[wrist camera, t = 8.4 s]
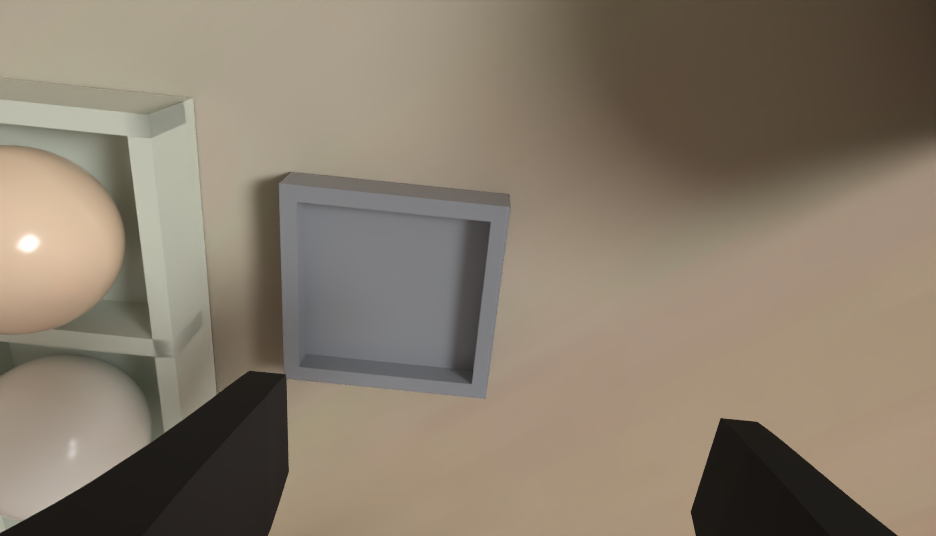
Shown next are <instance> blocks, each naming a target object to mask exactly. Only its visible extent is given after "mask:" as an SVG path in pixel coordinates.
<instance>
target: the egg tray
mask: <svg viewBox="0 0 936 536" xmlns="http://www.w3.org/2000/svg"><path fill="white" fill-rule="evenodd" d="M0 145H19V146H26V147H32V148H38V149H42V150H45V151H49V152H52V153H54V154H57V155H59V156H62V157H64V158H67V159H68V160H70V161H72V162H74V163H76V164H77V165H79V166H80V167H82V168H83V169H85V170H86V171H87V172H89V173H90V174H91V175H92V176H93V177H95V178H96V179H97V180H98V181H99V182H100V183H101V184H102V185H103V186H104V188H105V189H106V190H107V191H108V193H109V194H110V196H111V197H112V199H113V200H114V202H115V204H116V206H117V208H118V210H119V213H120V215H121V218H122V221H123V225H124V230H125V254H124V259H123V263H122V266H121V269H120V272H119V274H118V276H117V279H116V280H115V282H114V283H113V285H112V287H111V288H110V290H109V291H108V293H107V294H106V295H105V296H104V297H103V298H102V299H101V300H100V301H99V302H98V303H97V304H96V305H95V306H94V307H93V308H91V309H90V310H89V311H87V312H86V313H85V314H83V315H82V316H80V317H78V318H76V319H75V320H73V321H71V322H69V323H66V324H64V325H62V326H59V327H56V328H53V329H50V330H46V331H42V332H37V333H31V334H19V335H3V334H0V376H2V375H3V374H4V373H6V372H7V371H9V370H11V369H13V368H15V367H17V366H19V365H21V364H23V363H26V362H29V361H32V360H35V359H38V358H42V357H47V356H53V355H63V354H73V355H84V356H90V357H94V358H98V359H101V360H103V361H106V362H108V363H110V364H113V365H115V366H116V367H118V368H120V369H121V370H123V371H124V372H125V373H127V374H128V375H129V376H130V377H131V378H132V379H133V380H134V381H135V382H136V384H137V385H138V386H139V387H140V389H141V390H142V392H143V393H144V395H145V397H146V399H147V402H148V405H149V408H150V412H151V416H152V437H151V442H152V441H154V440H155V439H157V438H158V437H159V436H161V435H162V434H164V433H165V432H166V431H168V430H169V429H171V428H172V427H173V426H175V425H176V424H178V423H179V422H180V421H182V420H183V419H185V418H186V417H187V416H189V415H190V414H191V413H193V412H194V411H195V410H197V409H198V408H200V407H201V406H202V405H204V404H205V403H206V402H208V401H209V400H210V399H212V398H213V397H214V396H216V395H217V393H216V380H215V368H214V355H213V343H212V330H211V317H210V305H209V292H208V280H207V267H206V255H205V242H204V230H203V217H202V204H201V192H200V179H199V167H198V154H197V142H196V129H195V117H194V104H193V98H188V97H178V96H168V95H159V94H149V93H140V92H130V91H120V90H111V89H101V88H91V87H82V86H72V85H63V84H53V83H43V82H34V81H24V80H14V79H5V78H0ZM18 523H20V521H15V520H12V519H9V518H6V517H4V516H1V515H0V533H1V532H3V531H4V530H6V529H8V528H10V527H12V526H14V525H16V524H18Z"/></svg>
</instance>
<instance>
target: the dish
mask: <svg viewBox="0 0 936 536" xmlns="http://www.w3.org/2000/svg"><path fill="white" fill-rule="evenodd" d="M279 207H280V244H281V282H282V319H283V356H284V374H286V379H295V380H305V381H315V382H325V383H335V384H345V385H355V386H365V387H375V388H384V389H394V390H404V391H414V392H424V393H434V394H444V395H454V396H464V397H474V398H484V399H486V392H487V384H488V376H489V369H490V361H491V353H492V346H493V338H494V330H495V323H496V315H497V307H498V300H499V292H500V284H501V277H502V269H503V261H504V253H505V246H506V238H507V230H508V223H509V215H510V195H509V194H499V193H490V192H480V191H470V190H461V189H451V188H441V187H431V186H422V185H412V184H402V183H393V182H383V181H373V180H364V179H354V178H344V177H334V176H325V175H315V174H305V173H296V172H291V173H290V174H288V175H287V176H286V177H285V178H284V179H283V180H282V181H281V182H280V183H279Z"/></svg>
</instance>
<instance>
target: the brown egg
mask: <svg viewBox="0 0 936 536" xmlns="http://www.w3.org/2000/svg"><path fill="white" fill-rule="evenodd" d="M124 254H125V230H124V225H123V221H122V218H121V215H120V213H119V210H118V208H117V206H116V204H115V202H114V200H113V199H112V197H111V196H110V194H109V193H108V191H107V190H106V189H105V188H104V186H103V185H102V184H101V183H100V182H99V181H98V180H97V179H96V178H95V177H93V176H92V175H91V174H90V173H89V172H87V171H86V170H85V169H83V168H82V167H80V166H79V165H77V164H76V163H74V162H72V161H70V160H68V159H67V158H64V157H62V156H59V155H57V154H54V153H52V152H49V151H45V150H42V149H38V148H32V147H26V146H19V145H0V334H3V335H19V334H31V333H37V332H42V331H46V330H50V329H53V328H56V327H59V326H62V325H64V324H66V323H69V322H71V321H73V320H75V319H76V318H78V317H80V316H82V315H83V314H85V313H86V312H87V311H89V310H90V309H91V308H93V307H94V306H95V305H96V304H97V303H98V302H99V301H100V300H101V299H102V298H103V297H104V296H105V295H106V294H107V293H108V291H109V290H110V288H111V287H112V285H113V283H114V282H115V280H116V279H117V276H118V274H119V272H120V269H121V266H122V263H123V259H124Z"/></svg>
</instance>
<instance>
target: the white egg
mask: <svg viewBox="0 0 936 536" xmlns="http://www.w3.org/2000/svg"><path fill="white" fill-rule="evenodd" d="M151 437H152V416H151V412H150V408H149V405H148V402H147V399H146V397H145V395H144V393H143V392H142V390H141V389H140V387H139V386H138V385H137V384H136V382H135V381H134V380H133V379H132V378H131V377H130V376H129V375H128V374H127V373H125V372H124V371H123V370H121V369H120V368H118V367H116V366H115V365H113V364H110V363H108V362H106V361H103V360H101V359H98V358H94V357H90V356H84V355H73V354H63V355H53V356H47V357H42V358H38V359H35V360H32V361H29V362H26V363H23V364H21V365H19V366H17V367H15V368H13V369H11V370H9V371H7V372H6V373H4V374H3V375H2V376H0V515H1V516H4V517H6V518H9V519H12V520H15V521H20V522H21V521H23V520H25V519H27V518H29V517H30V516H32V515H34V514H36V513H38V512H40V511H41V510H43V509H45V508H47V507H49V506H50V505H52V504H54V503H56V502H58V501H59V500H61V499H63V498H64V497H66V496H68V495H70V494H71V493H73V492H75V491H76V490H78V489H80V488H81V487H83V486H85V485H86V484H88V483H90V482H91V481H93V480H94V479H96V478H97V477H99V476H100V475H102V474H104V473H105V472H107V471H108V470H110V469H111V468H113V467H114V466H116V465H117V464H119V463H120V462H122V461H123V460H125V459H126V458H128V457H130V456H131V455H133V454H134V453H136V452H137V451H139V450H140V449H142V448H143V447H145V446H146V445H148V444H149V443H151Z"/></svg>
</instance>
